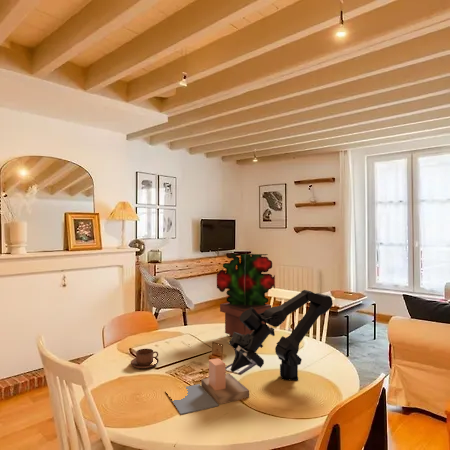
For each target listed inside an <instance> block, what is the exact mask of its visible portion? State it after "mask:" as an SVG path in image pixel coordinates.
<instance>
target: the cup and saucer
mask: <svg viewBox="0 0 450 450" xmlns="http://www.w3.org/2000/svg"><path fill="white" fill-rule="evenodd" d="M135 352H136V353H135V358H133V359H132V360H130V365H131V366H132V367H133V368H136V369H149V368H153V367H155V366H157V364H159V358H158V357H159V352H158V351H154V349H152V348H140V349H138V350H136V351H135ZM154 354H156V355H155V356H154ZM153 358H155V359H156V360H157V363H156V364H154V365H150V364H151V363H152V362H153Z"/></svg>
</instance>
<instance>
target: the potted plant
mask: <svg viewBox="0 0 450 450" xmlns="http://www.w3.org/2000/svg"><path fill="white" fill-rule="evenodd" d="M239 256H240V257H239ZM267 256H268V254H267V253H266V254H264V253H259V254H258V253H257V254H256V253H250V254H249V253H226V258H228V259H231V260H230V262H225V263H223V264H222V267H223V269H221V270H219V272H218V273H217V272H216V289H218V290H219V291H220V292H221V293H223V292H225V290H226V289H227V291H226V295H227V296H228V297H226V302H225V303H220V304H219V312H221V313H224V328H225V329H224V333H225V334H227V335H230V338H232V336H233V333H234V332H236V333H239V334H241V335H243V334H245V335H246V334H251V333H252V331H253V330H249V329H248V328H247V327H246V326H245V325H244V324H243V323H242V322H241V321H240V316H241V314H242V313H243V312H245V311H246V310H249V309H250V308H251V307H252V308H254V309H255V310H256V312H257V313H258V314H259V313H263V312H264V311H265V310H267V309H269V308H272V305H271V304H268V303H269V299H268V297H266V294H267V293H268V292H269V291H270V290H271V289H272V288H273V289H276V288H275V287H276V286H275V285H276V281H275V280H276V275H275V274H273V275H272V274H271V273H268V272H269V270H270V269H272V268H273V262H272V260H270V259H269V257H267ZM224 269H225V270H226V271H225V270H224ZM228 289H229V290H228ZM262 323H263V324H267V323H265V322H263V321H262Z"/></svg>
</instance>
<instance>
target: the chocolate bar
mask: <svg viewBox="0 0 450 450" xmlns="http://www.w3.org/2000/svg"><path fill="white" fill-rule="evenodd" d="M251 362H252V364H249V365H246V366H244V367H242V368H240V369H238V370H236V371H234V372H232V371H231V370H230V369H231V367H232V364H233V362H231V363H230V364H229V365H227V366H226V372H230V373H234V374H238V375H243V374H244V373H246V372H248V371H249V370H251V369H252V368H254V367H255V366H257V365H256V363H255V362H254V361H253V360H252V361H251Z"/></svg>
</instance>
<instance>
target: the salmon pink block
mask: <svg viewBox="0 0 450 450" xmlns="http://www.w3.org/2000/svg"><path fill="white" fill-rule="evenodd" d="M226 365H227V364H226V363H225V362H224V361H223V360H221V359H220V358H219V357H217V358H211V359H208V378H209V385H210V386H211V387H212V388H213V389H214V390H215V391H216V390H221V389H225V388H226V374H227V373H226V372H227V371H226V367H227V366H226Z"/></svg>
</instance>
